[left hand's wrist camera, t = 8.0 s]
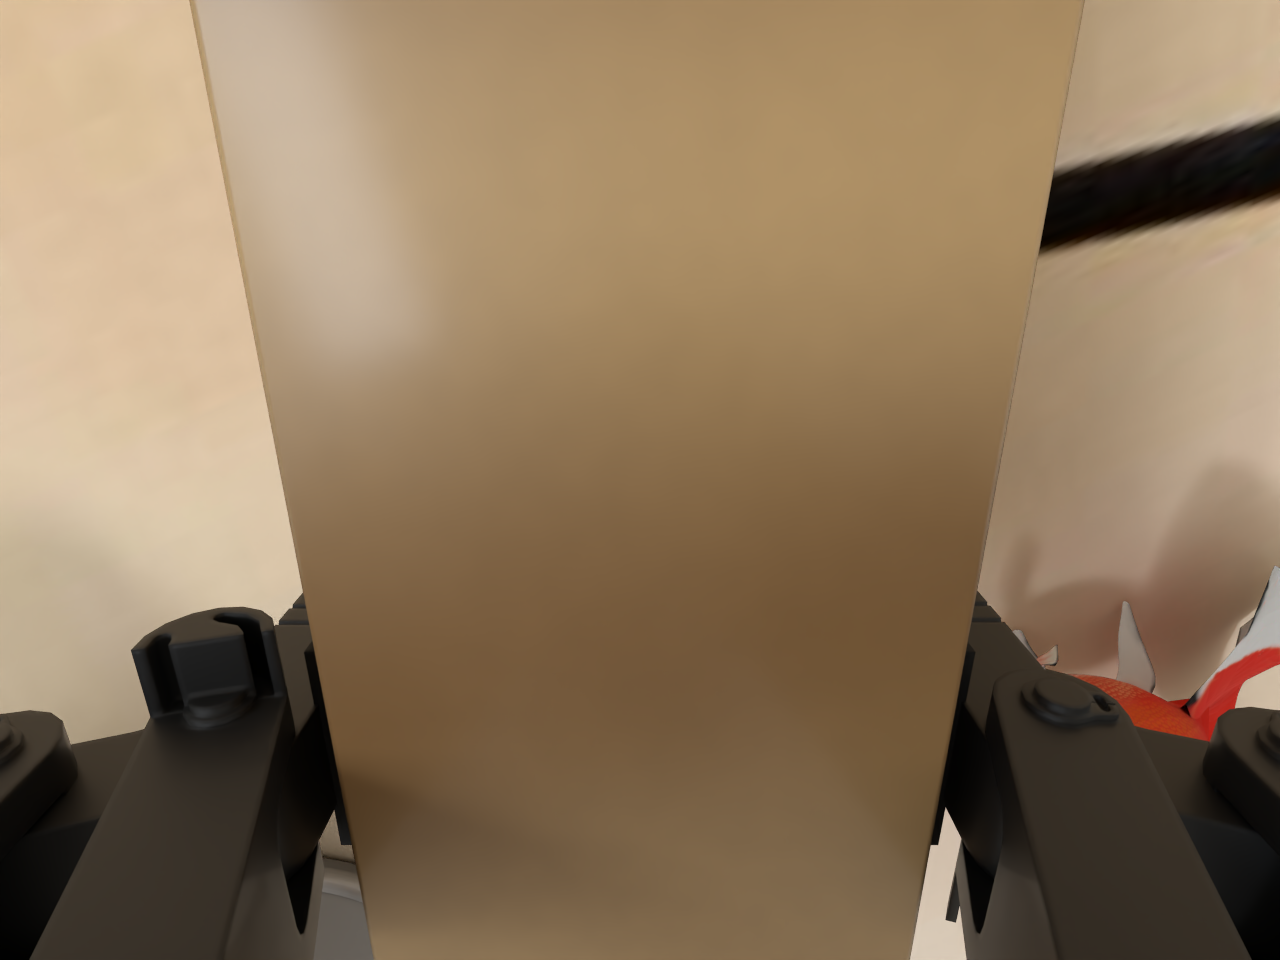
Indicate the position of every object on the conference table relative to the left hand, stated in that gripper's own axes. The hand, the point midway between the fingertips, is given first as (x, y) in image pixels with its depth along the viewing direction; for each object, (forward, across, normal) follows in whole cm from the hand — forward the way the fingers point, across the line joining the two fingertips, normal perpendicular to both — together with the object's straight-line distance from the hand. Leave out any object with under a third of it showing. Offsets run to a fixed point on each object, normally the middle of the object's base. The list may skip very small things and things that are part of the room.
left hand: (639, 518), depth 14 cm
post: (+1, 0, -18) cm, 18 cm away
